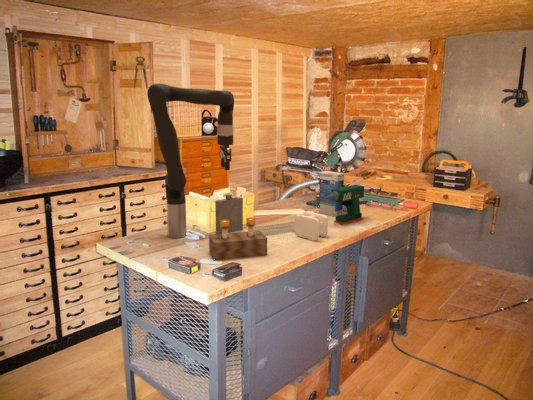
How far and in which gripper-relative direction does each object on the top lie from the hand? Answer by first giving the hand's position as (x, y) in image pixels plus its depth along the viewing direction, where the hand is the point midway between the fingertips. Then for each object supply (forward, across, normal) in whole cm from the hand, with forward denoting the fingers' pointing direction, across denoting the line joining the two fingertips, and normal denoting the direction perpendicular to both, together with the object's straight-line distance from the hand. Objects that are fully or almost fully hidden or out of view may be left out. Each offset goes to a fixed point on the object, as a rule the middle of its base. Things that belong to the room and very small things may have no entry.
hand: (225, 168), depth 210 cm
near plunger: (+35, +20, -5) cm, 41 cm away
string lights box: (+35, -32, +73) cm, 87 cm away
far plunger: (+35, +20, +7) cm, 41 cm away
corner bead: (+36, -6, +28) cm, 47 cm away
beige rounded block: (+36, +6, +43) cm, 57 cm away
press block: (+36, +20, +1) cm, 41 cm away
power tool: (+36, -12, +70) cm, 80 cm away
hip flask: (+36, -14, +5) cm, 39 cm away
